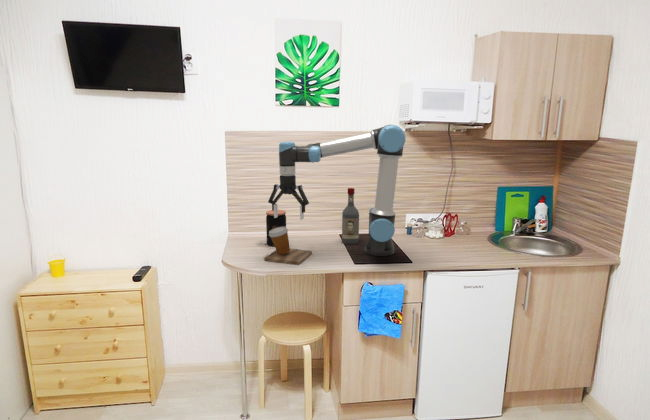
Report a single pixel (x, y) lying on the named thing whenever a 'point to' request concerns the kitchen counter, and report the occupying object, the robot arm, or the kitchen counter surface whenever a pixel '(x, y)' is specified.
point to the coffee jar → (274, 222)
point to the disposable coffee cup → (280, 239)
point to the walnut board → (289, 256)
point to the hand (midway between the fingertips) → (288, 218)
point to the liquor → (350, 221)
